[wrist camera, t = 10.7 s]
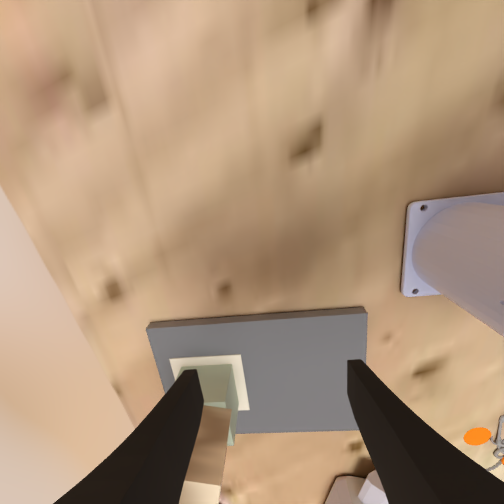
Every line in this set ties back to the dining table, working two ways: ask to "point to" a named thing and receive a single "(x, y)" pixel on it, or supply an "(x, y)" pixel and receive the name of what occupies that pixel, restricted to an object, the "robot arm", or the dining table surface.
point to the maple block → (207, 458)
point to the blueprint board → (273, 364)
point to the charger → (357, 490)
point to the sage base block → (219, 390)
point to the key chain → (483, 435)
